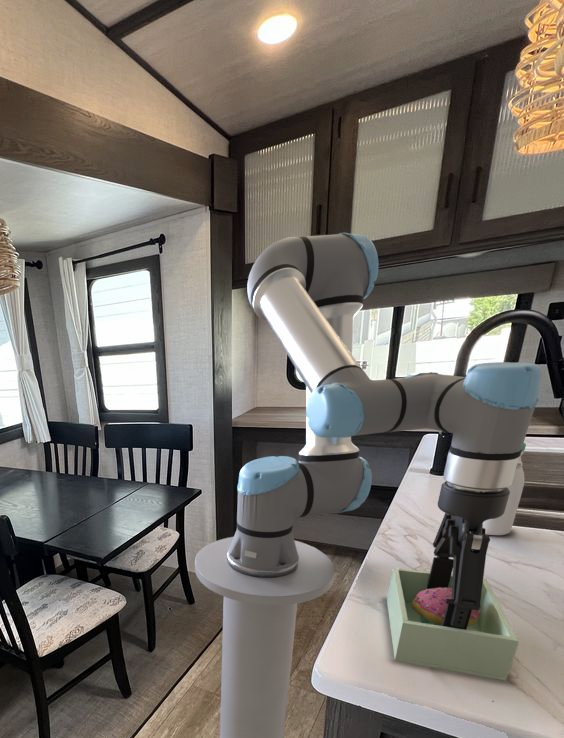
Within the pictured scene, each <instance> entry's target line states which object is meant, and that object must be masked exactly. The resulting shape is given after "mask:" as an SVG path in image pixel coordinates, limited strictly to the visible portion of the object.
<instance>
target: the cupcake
mask: <svg viewBox="0 0 564 738" xmlns="http://www.w3.org/2000/svg"><path fill="white" fill-rule="evenodd" d="M451 596H452V588H447V587H445V588H441V587H439V588H431V589H429V588H428V589H426V590H423V591H420V592H418V593H417V595H416V596H415V597H414V598H415V599H414V600H413V602H412V608H413V610H414V611H416V612H417V613H418V614H419V615H420V619H421V623H425V624H432V625H438V626H442V622H443V618H444V614H445V610H446V607H447V604H445V600H446V599H451ZM480 611H481V609H479V610H478V611H477V610H472V612H471V615H470V619H469V622H468V626H471V625H474V624H476V623H477V622H478V621H479V619H480Z"/></svg>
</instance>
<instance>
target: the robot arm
mask: <svg viewBox="0 0 564 738" xmlns="http://www.w3.org/2000/svg"><path fill="white" fill-rule="evenodd" d="M378 274H379V257H378V252H377V248H376V247H375V244H374V242H373V241H372V240H371V239H369V238H368V237H367V236H366V235H365V234H361V233H348V232H339V233H336V234H319V235H307V236H288V237H284V238H281V239H279V240H277V241H275V242H273V243H271V244H270V245H269V246H267V247H266V248H265V249H264V250H263V251H262V252H261V253H260V254H259V255H258V257H257V259H256V260H255V262H254V263H253V265H252V267H251V269H250V272H249V275H248V277H247V279H248V280H247V285H246V287H247V290H246V291H247V298H248V301H249V304H250V306H251V308H252V310H253V311H254V313H255V314H256V316H257V317H258V318H259V319H261V320H263V321H266V322H267V323H268V325H269V327H270V328H271V329H272V331H273V333H274V335H275V337H276V338H277V340H278V341H279V343H280V344H281V346H282V348H283V350H284V352H285V353H286V354H287V357H288V358H289V360H290V362H291V363H292V365H293V366H294V368H295V369H296V372H297V374H299V376H300V378H301V380H302V381H303V383H304V384H305V445H304V447H303V448H302V449H301V450H299V452H298V460H297V459H296V458H295V457H291V456H287V455H279V456H275V455H273V456H272V455H271V456H270V455H269V456H264V457H260V458H257V459H253V460H251V461H249V462H247V463H245V464H244V466H242V468H241V469H240V471H239V474H238V483H237V486H236V489H237V510H236V511H237V512H236V531H235V532H234V535H233V537H234V538H233V540H232V543H231V545H230V548H229V550H228V557H227V561H228V564H229V566H230V567H231V568H232V569H234V570H235V571H237V572H239V573H242V574H244V575H248V576H252V577H258V578H277V577H282V576H286V575H289V574H291V573H293V572H294V571H295V570H296V569H297V567H298V560H299V556H298V553H297V549H296V545H295V542H294V540H295V537H294V534H293V524H294V519H296V518H305V517H306V518H307V517H314V516H322V515H332V514H333V515H339V514H342V513H346V512H351V511H354V510H357V509H359V508H360V507H361V505H362V504H363V503H365V501H366V500H367V498H368V497H369V494H370V491H371V487H372V481H373V479H372V478H373V477H372V470H371V468H369V466H370V464H369V463H368V461H367V460H366V459H365V458H363V457H361V456H360V448H358V446H356V445H355V444H354V443H353V442H352V437H354V436H356V437H357V436H363V435H371V434H379V433H382V434H383V433H394V432H395V433H396V432H405V431H414V430H423V429H424V430H425V429H426V430H428V429H429V430H435V431H439V432H442V433H443V432H444V433H447V434H451V435H452V438H451V444H450V445H449V450H448V454H447V456H446V461H445V462H446V463H445V466H444V471H443V477H442V478H443V480H444V482H443V483H441V486H440V491H439V495H438V500H437V507H438V509H439V510H440V511H441V512H443V513H444V515H443V518H442V520H441V523H440V525H439V527H438V530H437V533H436V536H435V537H434V541H433V542H432V546H433V548H434V550H433V559H432V563H431V567H430V571H429V572H430V576H429V580H428V584H427V589H428V588H429V589H431V588H439V587H441V588H445V587H447V588H448V586H449V582H450V578H451V574H452V575H453V578H452V596H451V599H446V600H445V604H447V607H446V610H445V614H444V618H443V622H442V626H444V627H451V628H457V629H464V630H466V629H467V626H468V622H469V619H470V615H471V612H472V610H477V611H478V610H479V609H480V606H481V605H480V602H481V593H482V585H483V578H485V576H484V574H485V568H486V567H485V566H486V559H487V554H488V553H487V552H488V548H489V544H490V541H491V537H490V535H489V534H485V528H483V522H484V521H486V520H489V519H495V518H498V517H500V516H502V515H503V514H504V512H505V508H506V505H507V501H508V498H509V494H510V491H509V489H508V488H507V487H509V486H510V485H512V482H513V478H514V475H515V470H516V469H519V468H521V467H522V468H523V465H524V464H523V461H521V462H520V461H519V457H520V455H521V451H522V446H523V443H525V439H526V437H527V433H528V430H529V427H530V423H531V421H532V417H533V415H534V411H535V408H536V406H537V405H538V403H539V402H538V401H539V393H540V389H541V383H542V378H543V370H542V368H541V366H540V365H538V364H536V363H533V362H532V363H531V362H519V361H517V362H510V361H502V362H499V361H498V362H483V363H478V364H474V365H471V366H470V367H469V368H468V370H467V371H466V375H465V376H459V375H458V376H457V375H449V374H441V373H438V372H432V371H431V372H414V373H410V374H407V375H406V376H404V377H399V378H398V377H397V378H387V379H373V380H372V379H371V378H370V377H369V375H367V373H366V372H365V370H364V369H363V368H362V367H361V366H360V364H359V362H358V361H357V360H356V359H355V357H354V319H355V316H356V315H357V314H358V313H359V311H360V310H361V309H362V308H363V306H364V299H366V298H367V297H368V296H369V295H370V294H371V292H372V291H373V290H374V287H375V282H376V281H377V279H378ZM521 456H522V455H521Z"/></svg>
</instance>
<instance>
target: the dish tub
mask: <svg viewBox="0 0 564 738" xmlns="http://www.w3.org/2000/svg"><path fill="white" fill-rule="evenodd" d="M390 575H391V576H390V581H389V587H388V591H387V596H386V604H387V605H386V606H387V611H388V613H387V614H388V621H389V627H390V634H391V642H392V650H393V658H394V661H397V662H403V663H407V664H411V665H418V666H423V667H424V666H425V667H429V668H435V669H440V670H444V671H450V672H456V673H459V674H460V673H462V674H466V675H467V674H468V675H471V676H476V677H477V676H478V677H483V678H488V679H492V680H498V681H503V682H507V678H508V675H509V673H510V669H511V666H512V663H513V660H514V657H515V654H516V651H517V648H518V646H519V643H520V640H519V638H518V636H517V634H516V632H515V630H514V629H513V627H512V625H511V623H510V621H509V620H508V618H507V615H506V614H505V613H506V612H505V611H504V609H503V608H502V606H501V604H500V602H499V600H498V598H497V596H496V595H495V593H494V590H493V589H492V587H491V584H490V583H489V581H488V578H485V577H483V585H482V593H481V602H480V605H481V606H480V609H481V611H480V619H479V621H478V622H477V623H476V624H474V625H471V626H467V629H466V630H464V629H457V628H451V627H444V626H438V625H432V624H425V623H421V619H420V615H419V614H418V613H417V612H416V611H414V610H413V608H412V602H413V600H414V599H415V598H414V597H415V596H416V595H417V593H418V592H420V591H423V590H426V589H427V584H428V580H429V576H430V571H426V570H417V569H409V568H399V567H392V571H391V574H390ZM452 578H453V573H452V574H451V578H450V582H449V586H448V588H452Z"/></svg>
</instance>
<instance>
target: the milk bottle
mask: <svg viewBox="0 0 564 738" xmlns="http://www.w3.org/2000/svg"><path fill="white" fill-rule="evenodd" d="M526 446H527V444H526V442H524V443H523V446H522V451H521V455H520V457H519V461H520V462H522V455H524V453H525V450H526ZM524 486H525V471H524V469H523V466H522V467H521V468H519V469H516V470H515V475H514V478H513V482H512V485H510V486H509V487H507V488H508V489H509V491H510V494H509V498H508V501H507V505H506V508H505V512H504V514H503V515H502V516H500V517H498V518H495V519H489V520H486V521H484V522H483V528H485V535H489V536H490V535H491V536H504V535H508V534H509V533H511V531H512V528H513V525H514V522H515V519H516V515H517V511H518V508H519V504H520V501H521V497H522V494H523V490H524Z"/></svg>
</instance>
